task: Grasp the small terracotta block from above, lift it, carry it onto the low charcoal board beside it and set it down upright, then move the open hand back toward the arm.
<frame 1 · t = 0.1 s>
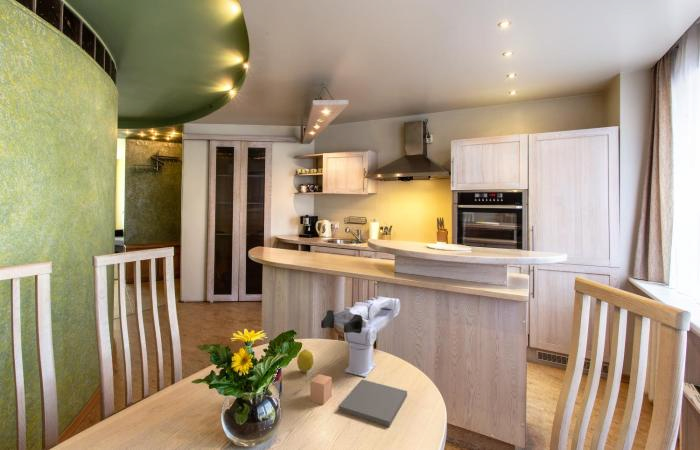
hand: (333, 326, 97), 22 cm above the table, tool horizontal, fingers open, 7 cm apart
lemon: (305, 372, 114), on the table
shelf board: (374, 403, 96), on the table
terracotta block: (321, 398, 98), on the table
energy drink: (272, 395, 100), on the table
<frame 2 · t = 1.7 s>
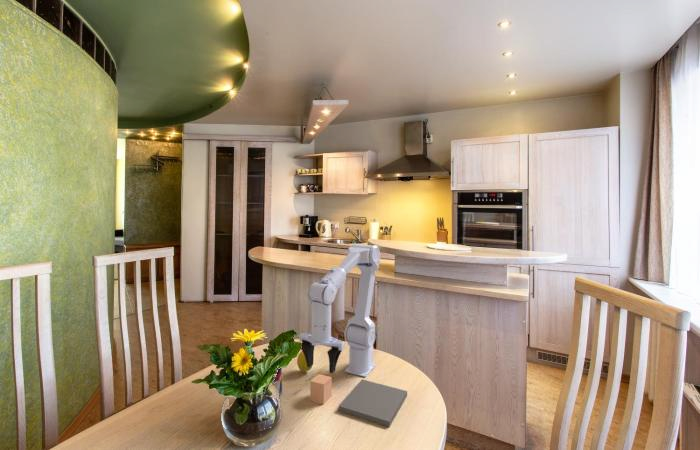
hand: (321, 368, 98), 9 cm above the table, tool pointing down, fingers open, 7 cm apart
nothing on the table moved.
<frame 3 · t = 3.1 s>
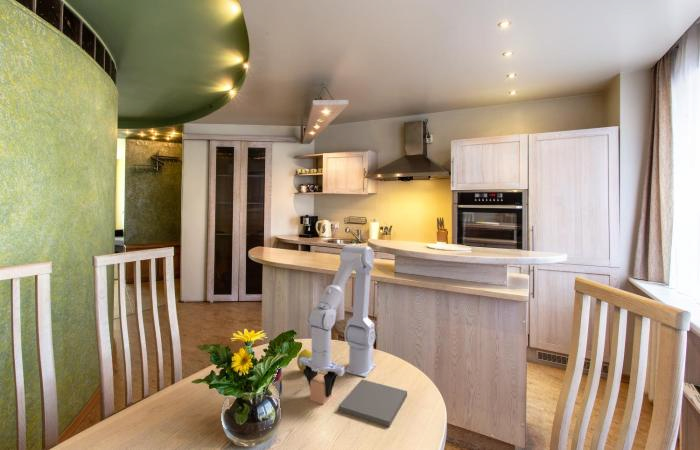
hand: (321, 393, 98), 2 cm above the table, tool pointing down, fingers closed on terracotta block, 5 cm apart
terracotta block: (321, 398, 98), on the table, touching gripper
everything else where it was.
when the fingers open (4 cm above the table, at t = 9.1 s): terracotta block stays where it is, resting on shelf board.
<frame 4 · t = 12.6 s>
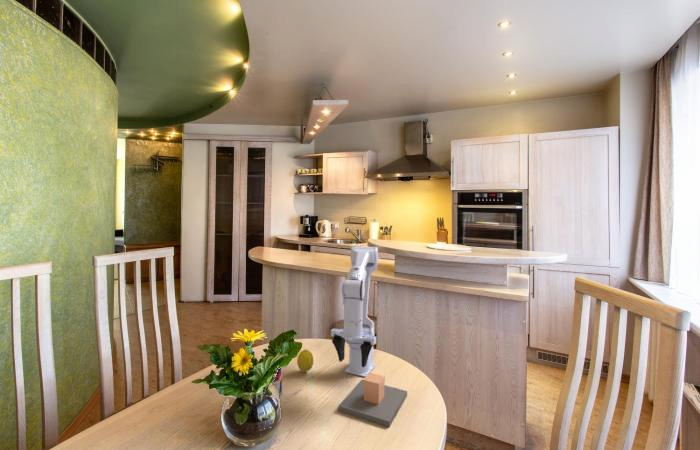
hand: (352, 362, 101), 9 cm above the table, tool pointing down, fingers open, 7 cm apart
terracotta block: (374, 398, 96), point 1 cm above the table, touching shelf board
everything else where it was.
at the end: terracotta block inside the target area on the shelf board (0.0 cm from its centre), point 1.5 cm above the shelf board's base; terracotta block tilted 0°; the gripper is holding nothing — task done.
